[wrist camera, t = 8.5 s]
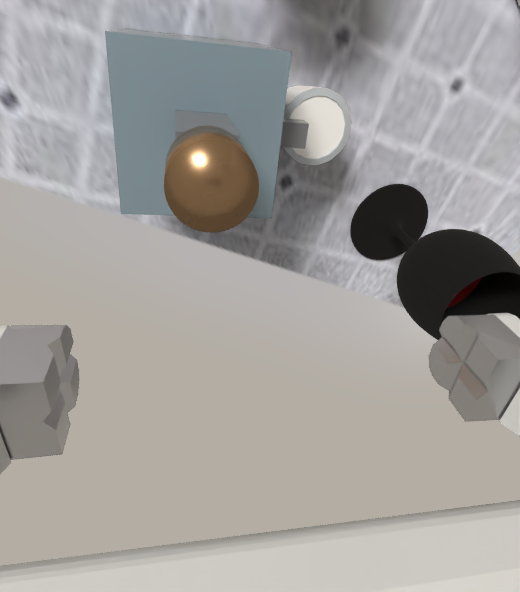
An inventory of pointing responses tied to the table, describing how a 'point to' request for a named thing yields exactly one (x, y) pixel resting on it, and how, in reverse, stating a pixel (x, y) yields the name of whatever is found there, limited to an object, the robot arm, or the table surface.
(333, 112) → the shot glass
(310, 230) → the table surface
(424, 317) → the wine glass
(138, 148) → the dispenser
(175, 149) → the pump plunger
